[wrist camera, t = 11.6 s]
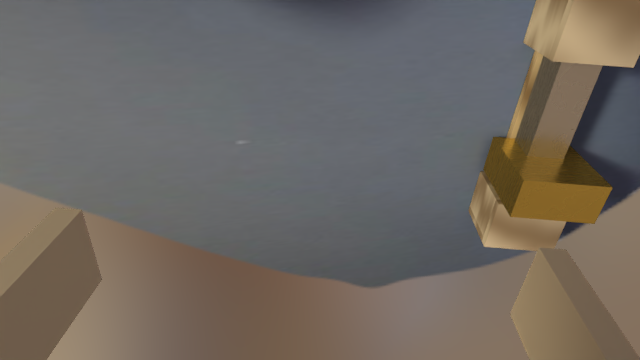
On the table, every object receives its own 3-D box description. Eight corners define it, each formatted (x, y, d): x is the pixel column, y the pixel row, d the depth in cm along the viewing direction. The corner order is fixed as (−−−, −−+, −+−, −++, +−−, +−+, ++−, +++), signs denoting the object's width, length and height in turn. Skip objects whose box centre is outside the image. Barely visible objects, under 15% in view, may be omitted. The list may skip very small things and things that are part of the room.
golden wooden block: (531, 12, 34) (578, 33, 27) (617, 19, 34) (686, 42, 27) (471, 207, 44) (494, 259, 37) (537, 213, 44) (572, 265, 37)
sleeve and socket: (561, -96, 31) (604, -101, 26) (651, -90, 31) (712, -93, 26) (468, 210, 46) (484, 246, 40) (529, 215, 45) (552, 252, 40)
